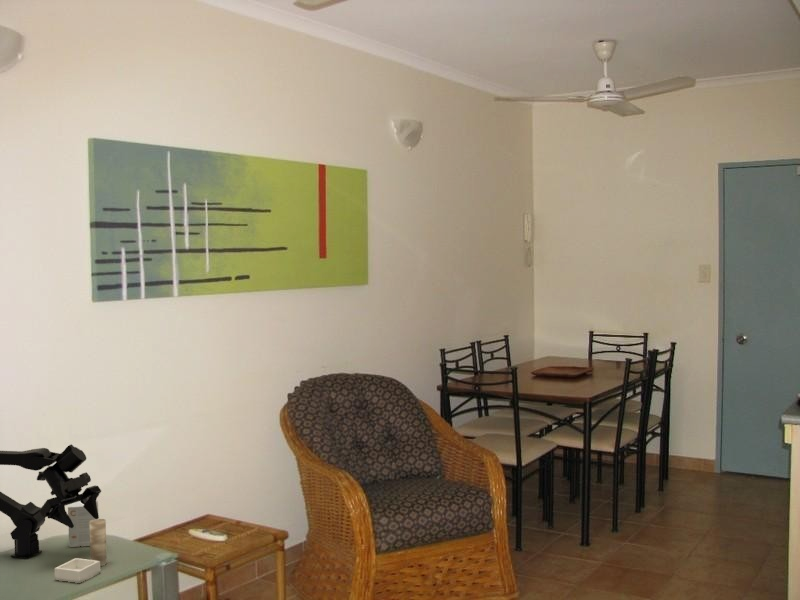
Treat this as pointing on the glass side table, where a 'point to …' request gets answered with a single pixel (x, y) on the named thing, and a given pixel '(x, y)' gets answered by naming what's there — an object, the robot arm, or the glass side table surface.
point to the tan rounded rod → (98, 541)
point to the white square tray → (77, 570)
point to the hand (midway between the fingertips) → (85, 522)
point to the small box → (79, 525)
